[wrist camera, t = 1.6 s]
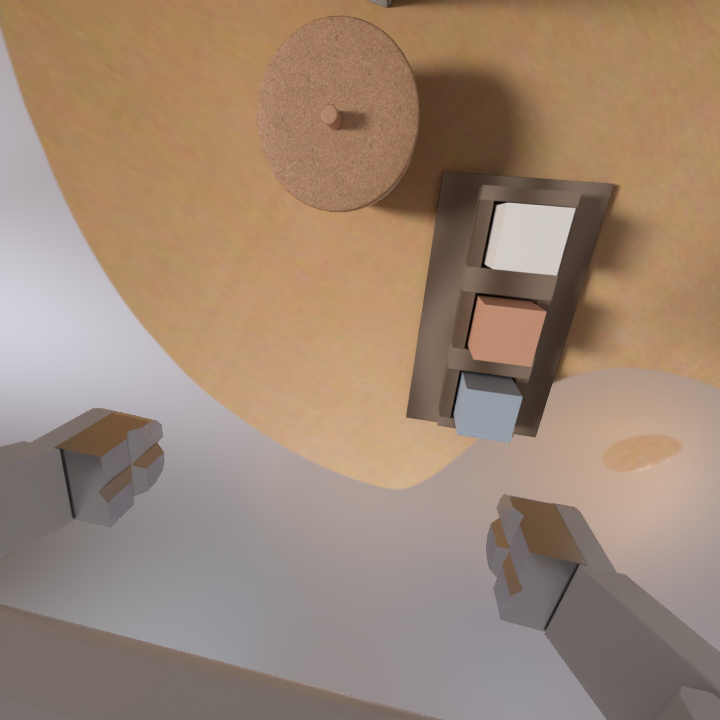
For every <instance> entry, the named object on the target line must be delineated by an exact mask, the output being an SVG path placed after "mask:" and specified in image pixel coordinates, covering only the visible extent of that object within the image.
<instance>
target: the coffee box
mask: <svg viewBox="0 0 720 720" xmlns="http://www.w3.org/2000/svg"><path fill="white" fill-rule="evenodd" d="M368 1H371V2H373V3H376V4H379V5H381V6H384V7H388V6H390V4H391V1H392V0H368Z"/></svg>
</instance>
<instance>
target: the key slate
mask: <svg viewBox="0 0 720 720" xmlns="http://www.w3.org/2000/svg"><path fill="white" fill-rule="evenodd" d="M522 398H523V396H522V395H521V393H520V391H519V390H518V388H517V386H516V384H515V383H514V381H513V379H512V378H511V377H506V376H499V375H491V374H484V373H477V372H469V371H462V372H461V377H460V382H459V387H458V392H457V396H456V401H455V406H454V411H453V414H454V419H455V425H456V431H457V435H462V436H469V437H475V438H481V439H488V440H495V441H501V442H508V443H510V440H511V437H512V433H513V430H514V426H515V423H516V419H517V416H518V412H519V409H520V405H521V401H522Z"/></svg>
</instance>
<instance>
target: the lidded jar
mask: <svg viewBox="0 0 720 720" xmlns="http://www.w3.org/2000/svg"><path fill="white" fill-rule="evenodd" d="M419 125H420V103H419V94H418V89H417V84H416V80H415V77H414V75H413V72H412V69H411V66H410V65H409V63H408V61H407V59H406V57H405V55H404V53H403V52H402V51H401V49H400V48H399V47H398V45H397V44H396V43H395V42H394V40H393V39H391V38H390V37H389V36H388V35H387V34H386V33H385V32H384V31H383V30H381V29H379V28H378V27H376V26H375V25H373V24H371V23H369V22H367V21H364V20H361V19H359V18H355V17H348V16H329V17H325V18H321V19H317V20H314V21H312V22H310V23H308V24H306V25H304V26H302V27H301V28H299V29H298V30H297V31H295V32H294V33H293V34H291V35H290V36H289V37H288V38H287V39H286V40H285V41H284V42H283V43H282V45H281V46H280V47H279V48H278V50H277V51H276V53H275V54H274V56H273V57H272V59H271V61H270V63H269V65H268V67H267V69H266V71H265V74H264V77H263V80H262V83H261V86H260V91H259V96H258V103H257V127H258V135H259V140H260V145H261V148H262V151H263V154H264V157H265V159H266V161H267V163H268V165H269V167H270V169H271V171H272V173H273V174H274V176H275V177H276V179H277V180H278V182H279V183H280V184H281V185H282V186H283V187H284V188H285V189H286V190H287V191H288V192H289V193H290V194H291V195H292V196H294V197H295V198H296V199H298V200H299V201H301V202H303V203H304V204H306V205H308V206H311V207H313V208H316V209H319V210H324V211H329V212H348V211H354V210H358V209H362V208H365V207H368V206H370V205H372V204H374V203H376V202H378V201H380V200H381V199H382V198H384V197H385V196H386V195H388V194H389V193H390V192H391V191H392V190H393V189H394V188H395V187H396V186H397V184H398V183H399V181H400V180H401V179H402V177H403V176H404V174H405V172H406V170H407V168H408V167H409V165H410V162H411V159H412V156H413V154H414V150H415V147H416V143H417V138H418V134H419Z"/></svg>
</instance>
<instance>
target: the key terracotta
mask: <svg viewBox="0 0 720 720" xmlns="http://www.w3.org/2000/svg"><path fill="white" fill-rule="evenodd" d="M545 316H546V311H545V310H544V309H542V308H541V307H539V306H538V305H536V304H535V303H533V302H532V301H527V300H518V299H509V298H500V297H491V296H482V295H477V299H476V304H475V309H474V313H473V318H472V323H471V328H470V333H469V338H468V343H467V344H468V347H469V350H470V352H471V355H472V357H473V359H475V360H482V361H490V362H497V363H505V364H512V365H520V366H528V367H531V366H532V362H533V359H534V355H535V352H536V348H537V344H538V341H539V337H540V334H541V330H542V327H543V323H544V319H545Z"/></svg>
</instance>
